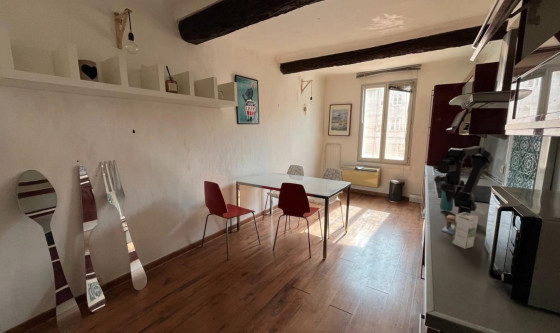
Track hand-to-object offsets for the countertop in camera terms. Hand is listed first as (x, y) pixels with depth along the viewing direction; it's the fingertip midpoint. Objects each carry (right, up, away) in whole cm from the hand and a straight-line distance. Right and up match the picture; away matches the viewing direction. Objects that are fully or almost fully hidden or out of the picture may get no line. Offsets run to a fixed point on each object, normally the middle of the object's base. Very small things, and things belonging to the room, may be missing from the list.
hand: (450, 200), depth 125 cm
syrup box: (-11, -17, -22) cm, 30 cm away
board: (-3, -15, -8) cm, 17 cm away
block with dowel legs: (-3, -14, -8) cm, 16 cm away
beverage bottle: (+11, -10, +19) cm, 24 cm away
